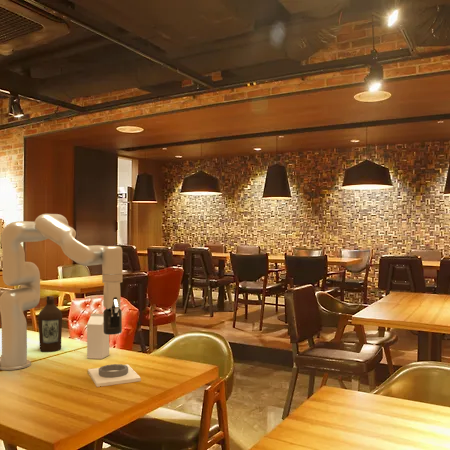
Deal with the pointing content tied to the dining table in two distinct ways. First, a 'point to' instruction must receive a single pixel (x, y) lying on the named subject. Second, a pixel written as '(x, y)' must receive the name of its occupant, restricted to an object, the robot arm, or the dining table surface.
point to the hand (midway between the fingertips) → (112, 324)
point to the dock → (113, 375)
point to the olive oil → (50, 327)
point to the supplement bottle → (106, 320)
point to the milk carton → (97, 338)
